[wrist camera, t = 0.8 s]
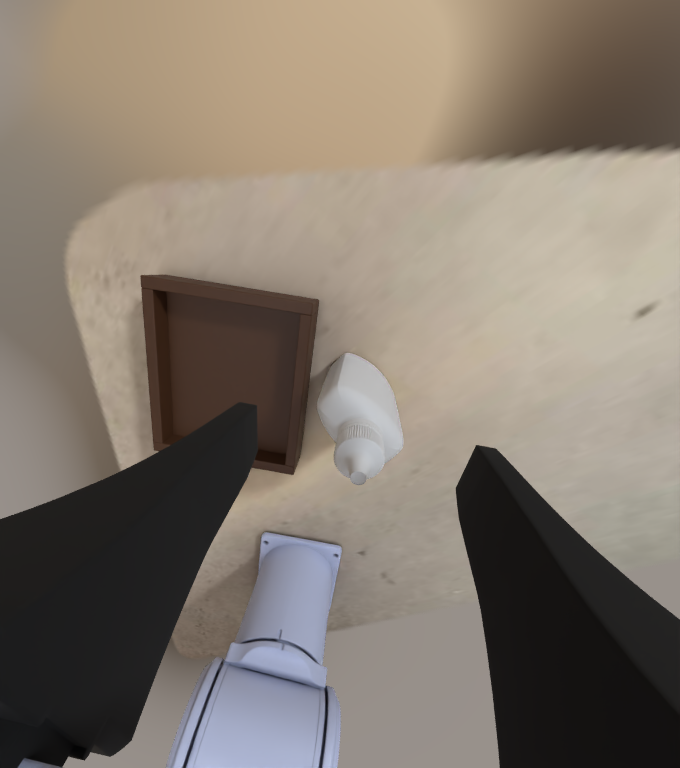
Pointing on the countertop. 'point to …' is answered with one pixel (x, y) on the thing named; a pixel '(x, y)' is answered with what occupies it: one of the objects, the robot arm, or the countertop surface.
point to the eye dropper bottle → (360, 417)
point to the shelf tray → (228, 361)
